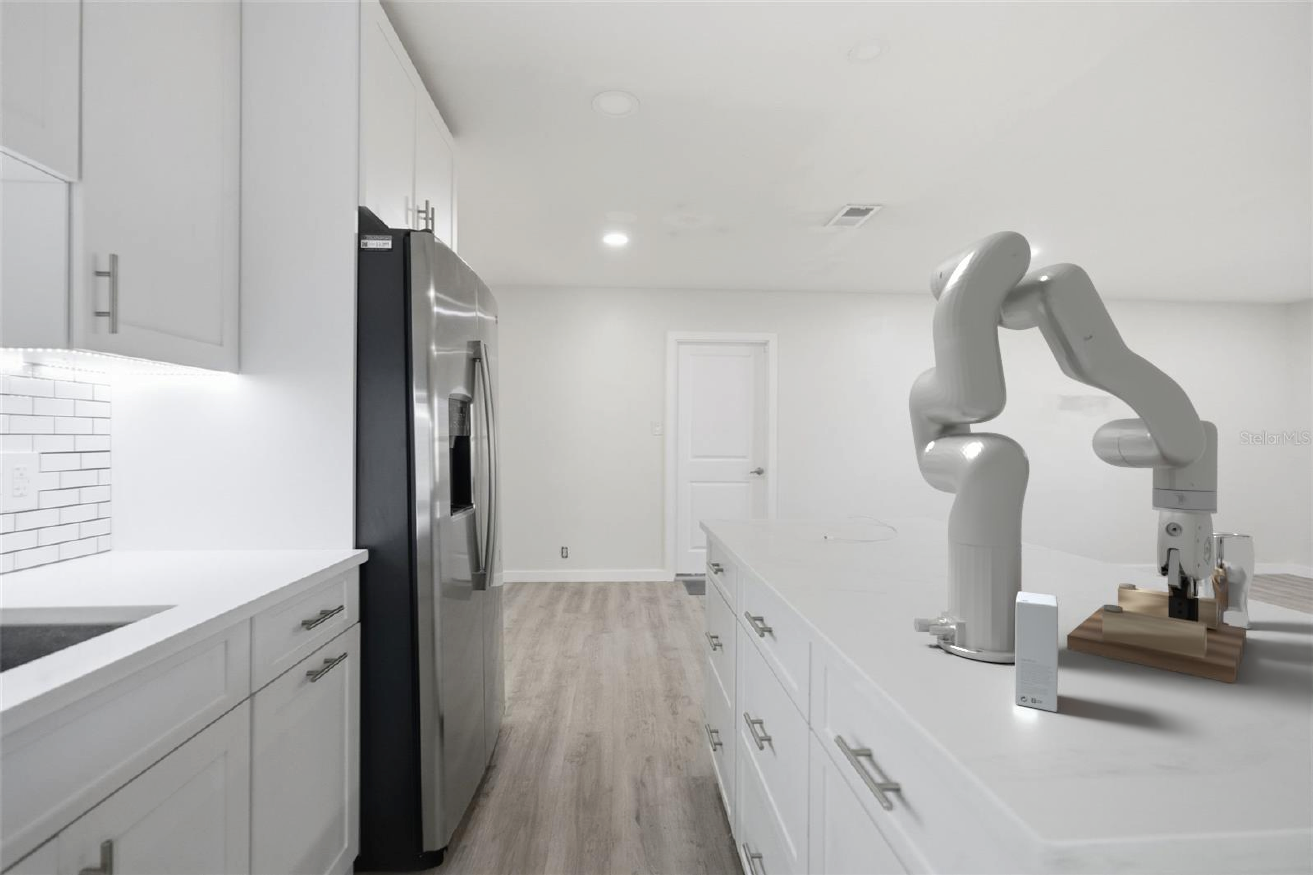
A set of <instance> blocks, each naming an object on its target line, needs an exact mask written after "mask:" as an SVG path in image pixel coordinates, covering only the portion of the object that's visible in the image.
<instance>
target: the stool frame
mask: <svg viewBox="0 0 1313 875" xmlns="http://www.w3.org/2000/svg"><path fill="white" fill-rule="evenodd" d="M1066 642H1067V643H1066V646H1067V647H1066V649H1067V650H1072V651H1077V652H1080V653H1086V654H1092V655H1096V656H1100V657H1106V658H1111V659H1115V660H1118V661H1125V662H1130V663H1133V664H1139V665H1144V666H1150V667H1155V668H1157V669H1158V668H1159V669H1163V670H1168V671H1174V672H1177V673H1178V672H1179V673H1183V674H1188V675H1193V676H1198V677H1202V678H1208V679H1212V680H1216V681H1221V682H1226V683H1230V684H1236V680H1237V676H1238V672H1239V668H1240V667H1241V666H1240V665H1241V661H1242V657H1243V654H1244V650H1245V646H1246V643H1247V629H1246V628H1242V627H1236V626H1230V625H1223V624H1220V605H1218V626H1217V629H1212V628H1207V623H1201V622H1195V621H1188V620H1182V619H1176V618H1170V617H1163V616H1157V615H1151V614H1145V613H1138V612H1132V611H1126V610H1123V607H1120V606H1118V605H1116V604H1103V605H1102V606H1101V607H1099V608H1098V609H1097V610H1096V611H1095V612H1093V613H1092V614H1091V615H1089V616H1088V617H1087V618H1086V619H1085V620H1084V621H1083V622H1081V623H1080V624H1079V625H1077V626H1076V627H1075V628H1074V629H1072V631H1070V632H1069V633H1068V634H1067V635H1066Z"/></svg>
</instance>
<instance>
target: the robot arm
mask: <svg viewBox="0 0 1313 875" xmlns="http://www.w3.org/2000/svg"><path fill="white" fill-rule="evenodd" d="M1031 250H1032V249H1031V246H1030V243H1029V241H1028V240H1027V238H1026V237H1025V236H1024V235H1023V234H1021V233H1019V232H1016V231H1009V230H1005V231H1004V230H1003V231H999V232H994V233H992V234H988V235H987V236H985V237H983V238H980V239H978V240H977V241H975V242H973V243H971V244H968V245H967V246H966V247H964V248H962V249H961V250H958V251H956V252H955V253H952V254H950V255H948V257H945V258H944V259H943V260H941V261H940V262H939V263H938V264H937V265H936V266H935V267H934V269H933V271H932V273H931V275H930V280H929V287H930V290H931V293H932V295H933V298H935V300H936V301H937V302H936V305H935V309H934V313H933V318H932V339H933V350H934V360H935V366H933V367H930V368H929V369H925V371H923V372H921V373H920V374H919V375H918V376H917V377H916V379H915V380H914V382H913V383H912V386H911V388H910V392H909V397H908V398H909V399H908V409H909V418H910V422H911V430H912V437H913V443H914V449H915V455H916V461H917V464H918V468H919V472H920V474H921V476H922V477H923V479H924V481H926V484H929V486H931V487H932V488H934V489H935V490H937V491H940V492H942V493H943V492H944V493H950V494H954V495H955V497H954V500H953V503H952V506H951V509H950V513H949V516H948V523H947V524H948V526H947V541H948V544H947V545H948V546H947V547H948V548H947V551H948V553H947V554H948V555H947V556H948V558H947V561H948V562H947V565H948V566H947V568H948V569H947V571H948V572H947V573H948V576H947V577H948V578H947V579H948V580H947V582H948V583H947V585H948V588H947V591H948V592H947V595H948V596H947V597H948V598H947V603H948V606H947V608H948V609H947V611H941V616H937V617H935V619H929V618H914V621H913V625H914V626H913V628H914V630H915V632H916V633H917V632H918V633H929V635H930V636H936V643H937V645H938V646H939V648H942V649H944V650H945V651H947V652H949V653H951V654H954V655H957V656H960V657H963V658H968V659H972V660H977V661H984V662H990V663H1008V664H1010V663H1011V664H1013V663H1014V664H1015V612H1016V598H1017V594H1018V592H1019V591H1021V592H1023V591H1022V590H1023V583H1022V580H1023V579H1022V578H1023V577H1022V576H1023V574H1022V573H1023V572H1022V571H1023V570H1022V568H1023V566H1022V563H1023V562H1022V560H1023V558H1022V553H1023V550H1022V547H1023V546H1022V528H1023V527H1022V525H1023V524H1022V523H1023V522H1022V521H1023V509H1024V502H1025V496H1026V493H1027V488H1028V484H1029V479H1030V461H1029V457H1028V455H1027V453H1026V451H1025V449H1024V447H1023V446H1022V445H1021V444H1020V443H1018V441H1016V440H1015V439H1013V438H1012V437H1009V436H1008V435H1004V434H1002V433H997V432H989V431H988V432H987V431H985V432H981V431H980V432H971V430H972V429H971V425H973V424H974V425H975V424H982V423H987V422H991V421H992V420H993V419H996V418H998V417H999V416H1000V415H1001V414H1002V413H1003V411H1004V409H1005V407H1006V405H1007V386H1006V379H1005V378H1006V377H1005V375H1004V374H1005V373H1004V366H1003V362H1002V361H1003V360H1002V354H1001V348H1000V341H999V330H998V327H1000V328H1004V329H1008V330H1015V331H1024V330H1029V329H1033V328H1038V329H1039V330H1038V331H1040V333H1041V334H1042V337H1043V338H1044V340H1045V342H1046V344H1047V345H1048V348H1049V349H1050V351H1051V353H1052V355H1053V357H1054V359H1055V360H1056V361H1055V362H1057V365H1058V366H1059V369H1060V370H1061V372H1062V373H1063V374H1064V375H1065V376H1066V377H1068V378H1070V379H1072V380H1074V381H1077V382H1079V383H1082V384H1084V385H1086V386H1090V387H1093V388H1094V389H1095V388H1096V389H1098V390H1101V391H1104V392H1106V393H1109V394H1110V395H1112V396H1114V397H1116V398H1118V399H1119V400H1120V401H1122V402H1124V403H1125V404H1126V405H1127V406H1128V407H1130V408H1131V409H1132V411H1134V413H1136V415H1137V416H1138V417H1135V418H1120V419H1114V420H1110V421H1109V422H1106V423H1104V424H1102V425H1101V426H1100V427H1098V429H1097V430H1095V433H1094V434H1093V436H1092V440H1091V441H1092V442H1091V444H1092V445H1091V446H1092V449H1093V452H1094V454H1095V455H1096V456H1097V457H1098V458H1099V459H1100V460H1101V461H1103V462H1105V463H1106V464H1109V465H1111V466H1115V467H1119V468H1131V469H1132V468H1133V469H1152V497H1151V498H1152V500H1151V501H1152V503H1151V504H1152V506H1151V508H1152V510H1154V511H1159V515H1158V522H1157V541H1156V542H1157V544H1156V565H1157V573H1158V574H1160V576H1162V577H1167V586H1168V588H1167V589H1168V591H1167V592H1169V598H1168V617H1170V618H1176V619H1182V620H1188V621H1195V622H1198V604H1199V598H1196V597H1198V596H1199V586H1200V585H1199V584H1200V582H1201V580H1202V579H1205V578H1207V577H1209V576H1211V575H1213V574H1214V572H1215V557H1214V537H1213V532H1214V528H1213V527H1214V526H1213V519H1212V518H1213V517H1212V515H1213V514H1214V515H1215V514H1218V451H1219V450H1218V445H1219V444H1218V441H1219V440H1218V439H1219V438H1218V436H1219V435H1218V428H1217V426H1216V425H1215V423H1213V421H1209V420H1201V418H1200V416H1199V414H1198V412H1197V410H1196V408H1195V406H1194V404H1193V403H1192V401H1191V399H1190V397H1189V395H1188V394H1187V393H1186V392H1185V390H1184V389H1183V388H1182V387H1181V385H1179V384H1178V382H1176V381H1175V380H1174V379H1173V378H1172V377H1171V376H1169V374H1167V373H1166V372H1164V371H1163V370H1161V369H1160V368H1158V367H1157V366H1156V365H1154V364H1153V363H1152V362H1150V361H1149V360H1147V359H1146V358H1145V357H1142V356H1140V355H1139V354H1137V353H1135V352H1134V351H1132V350H1131V349H1130V348H1129V347H1128V345H1127V344H1126V343H1125V341H1124V340H1123V338H1122V335H1121V334H1120V332H1119V330H1118V328H1117V327H1116V325H1115V322H1114V321H1113V319H1112V317H1111V315H1110V313H1109V312H1108V309H1107V308H1106V306H1105V304H1104V302H1103V300H1102V298H1101V295H1100V294H1099V292H1098V291H1097V288H1096V287H1095V284H1094V282H1093V281H1092V279H1091V278H1090V276H1089V274H1088V273H1087V272H1086V271H1085V269H1084V268H1083V267H1081V265H1077V264H1075V263H1070V262H1062V263H1056V264H1051V265H1048V266H1044V267H1041V268H1040V269H1036V270H1034V271H1031V272H1028V270H1029V268H1030V264H1031V260H1032V252H1031ZM1027 272H1028V273H1027Z"/></svg>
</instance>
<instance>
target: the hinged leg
mask: <svg viewBox="0 0 1313 875" xmlns="http://www.w3.org/2000/svg"><path fill="white" fill-rule="evenodd" d="M1136 586H1137V585H1136V584H1133V583H1125V582H1120V583H1118V588H1117V606H1120V607H1123V610H1126V611H1132V612H1138V613H1145V614H1151V615H1157V616H1163V617H1168V598H1169V591H1163V590H1162V591H1161V590H1155V589H1148V588H1147V589H1146V588H1141V587H1136ZM1196 598H1199V604H1198V622H1201V623H1207V628H1212V629H1217V626H1218V599H1214V598H1207V597H1204V596H1199V595H1198V597H1196Z"/></svg>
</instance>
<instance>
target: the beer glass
mask: <svg viewBox="0 0 1313 875" xmlns="http://www.w3.org/2000/svg"><path fill="white" fill-rule="evenodd" d="M1213 537H1214V557H1215V572H1214V574H1213V575H1211V576H1209V577H1207V578H1205V579H1202V580H1200V582H1201V586H1202V591H1203V597H1207V598H1214V599H1218V605H1220V624H1223V625H1230V626H1236V627H1242V628H1246V630H1249V629H1251V627H1252V626H1251V625H1252V624H1251V620H1250V617H1249V611H1248V600H1249V596H1250V591H1251V587H1252V583H1253V580H1254V579H1253V578H1254V573H1255V550H1254V542H1253V536H1252V535H1250V534H1243V533H1237V532H1236V533H1235V532H1223V531H1221V532H1220V531H1213Z"/></svg>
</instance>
